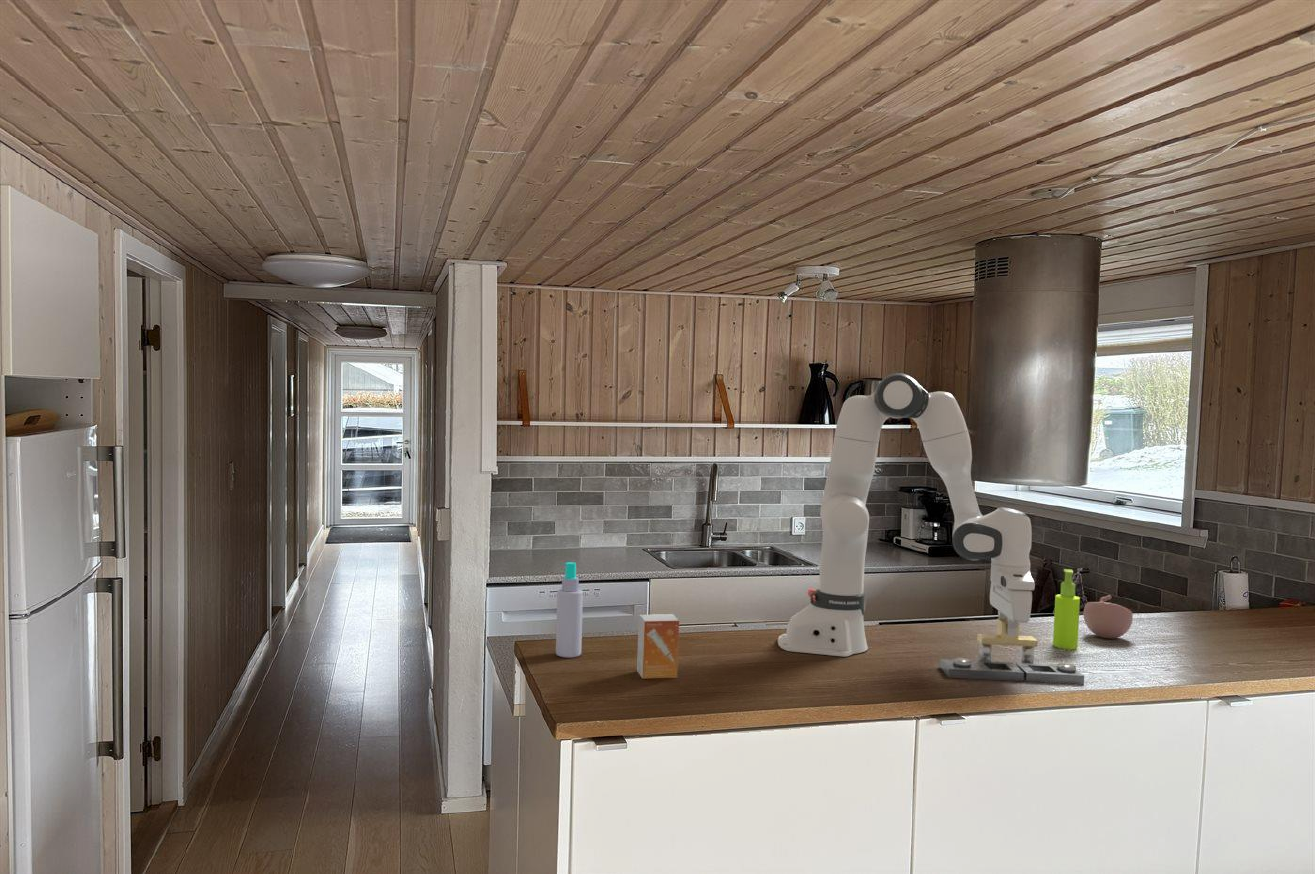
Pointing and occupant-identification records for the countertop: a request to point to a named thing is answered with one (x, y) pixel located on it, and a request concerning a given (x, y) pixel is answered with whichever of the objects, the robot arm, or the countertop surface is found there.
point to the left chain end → (981, 669)
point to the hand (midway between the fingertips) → (1007, 632)
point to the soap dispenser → (1066, 615)
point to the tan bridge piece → (1006, 642)
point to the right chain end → (1051, 673)
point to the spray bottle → (569, 615)
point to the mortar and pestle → (1107, 618)
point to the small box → (658, 646)
